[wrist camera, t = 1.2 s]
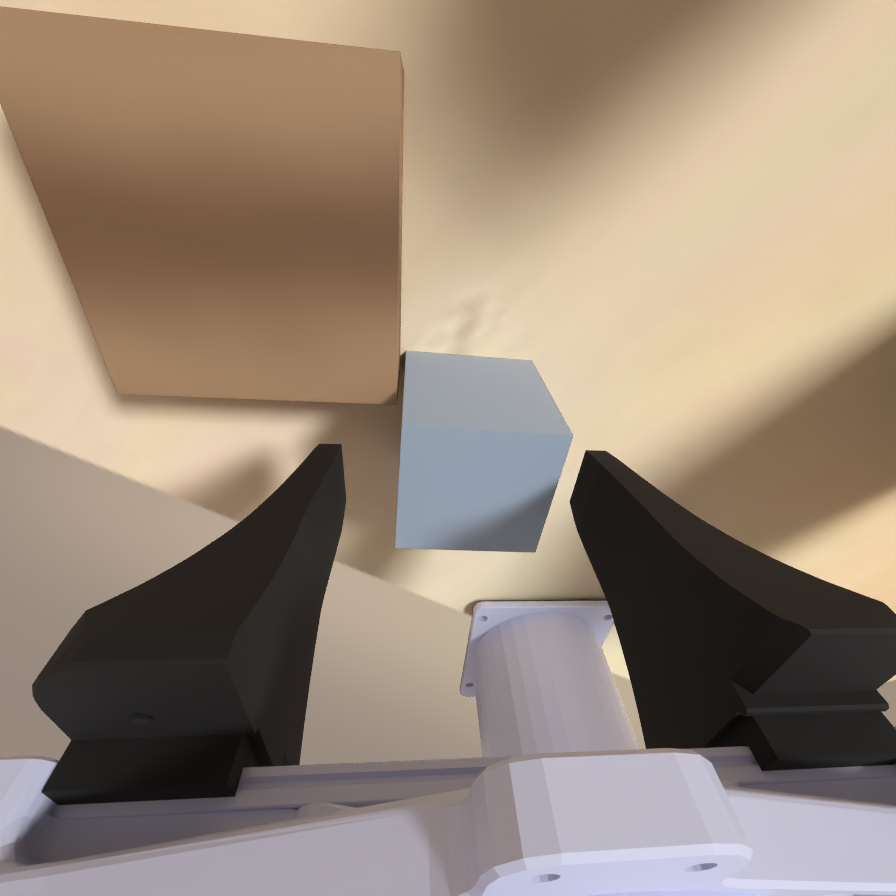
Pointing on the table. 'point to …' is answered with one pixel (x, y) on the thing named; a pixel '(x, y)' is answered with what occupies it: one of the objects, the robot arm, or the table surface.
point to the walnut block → (218, 202)
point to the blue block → (476, 453)
